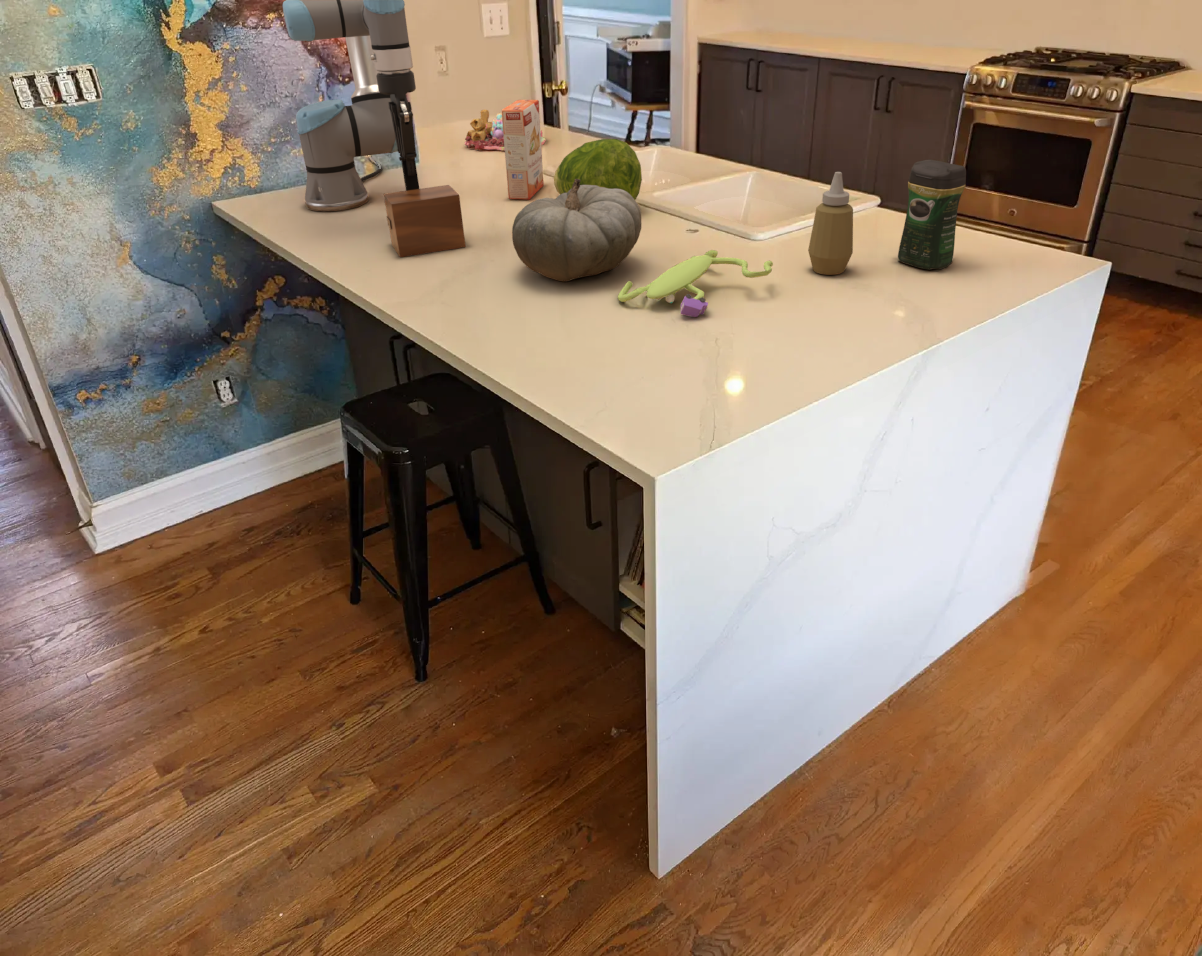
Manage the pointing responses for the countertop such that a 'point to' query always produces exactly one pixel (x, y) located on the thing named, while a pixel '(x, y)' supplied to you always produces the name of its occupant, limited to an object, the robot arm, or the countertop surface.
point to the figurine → (688, 281)
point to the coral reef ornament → (488, 133)
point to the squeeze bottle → (832, 231)
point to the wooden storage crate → (425, 220)
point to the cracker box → (523, 148)
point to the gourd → (577, 232)
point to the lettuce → (601, 167)
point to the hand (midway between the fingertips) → (412, 189)
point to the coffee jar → (931, 214)
